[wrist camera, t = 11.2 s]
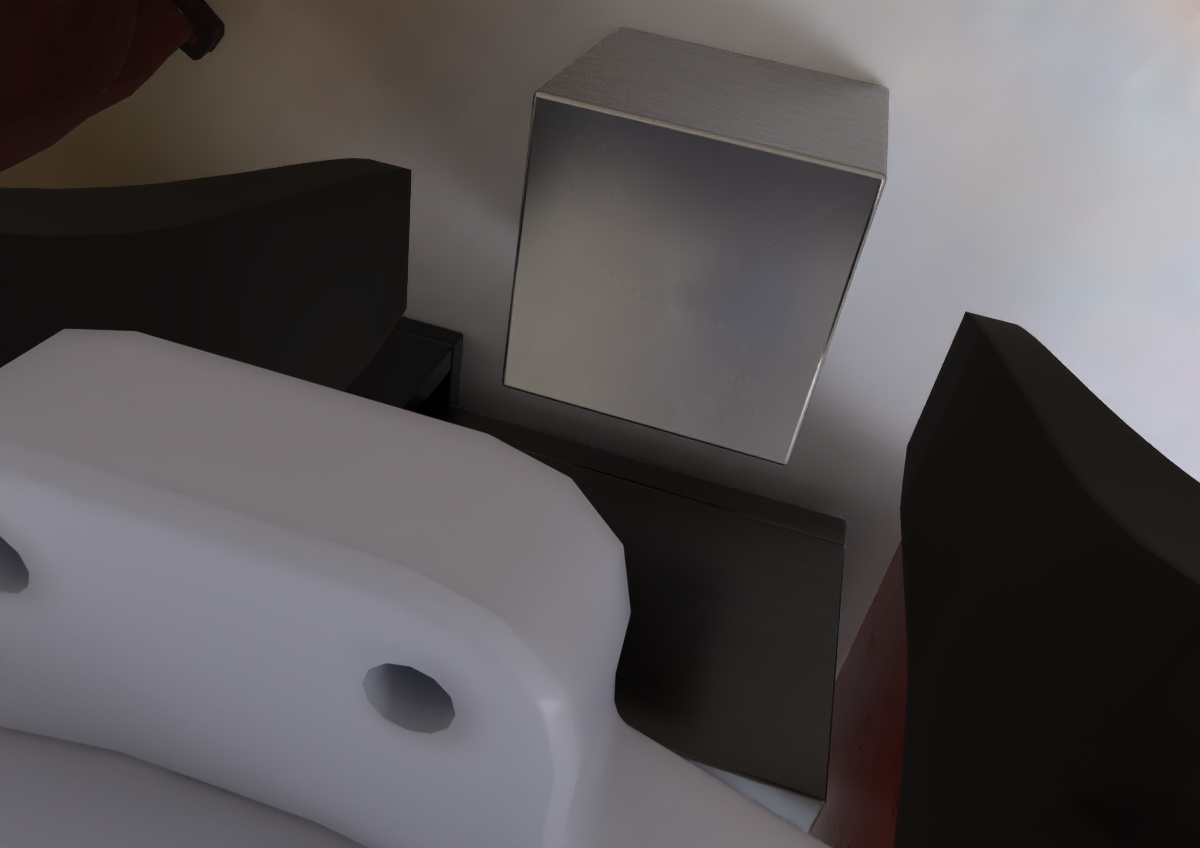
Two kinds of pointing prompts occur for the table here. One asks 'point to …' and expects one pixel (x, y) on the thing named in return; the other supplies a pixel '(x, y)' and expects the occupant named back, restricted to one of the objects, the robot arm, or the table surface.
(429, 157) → the table surface
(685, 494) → the drawer
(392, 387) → the black storage chest
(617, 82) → the steel block
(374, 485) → the robot arm
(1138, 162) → the table surface
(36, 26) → the mate gourd
